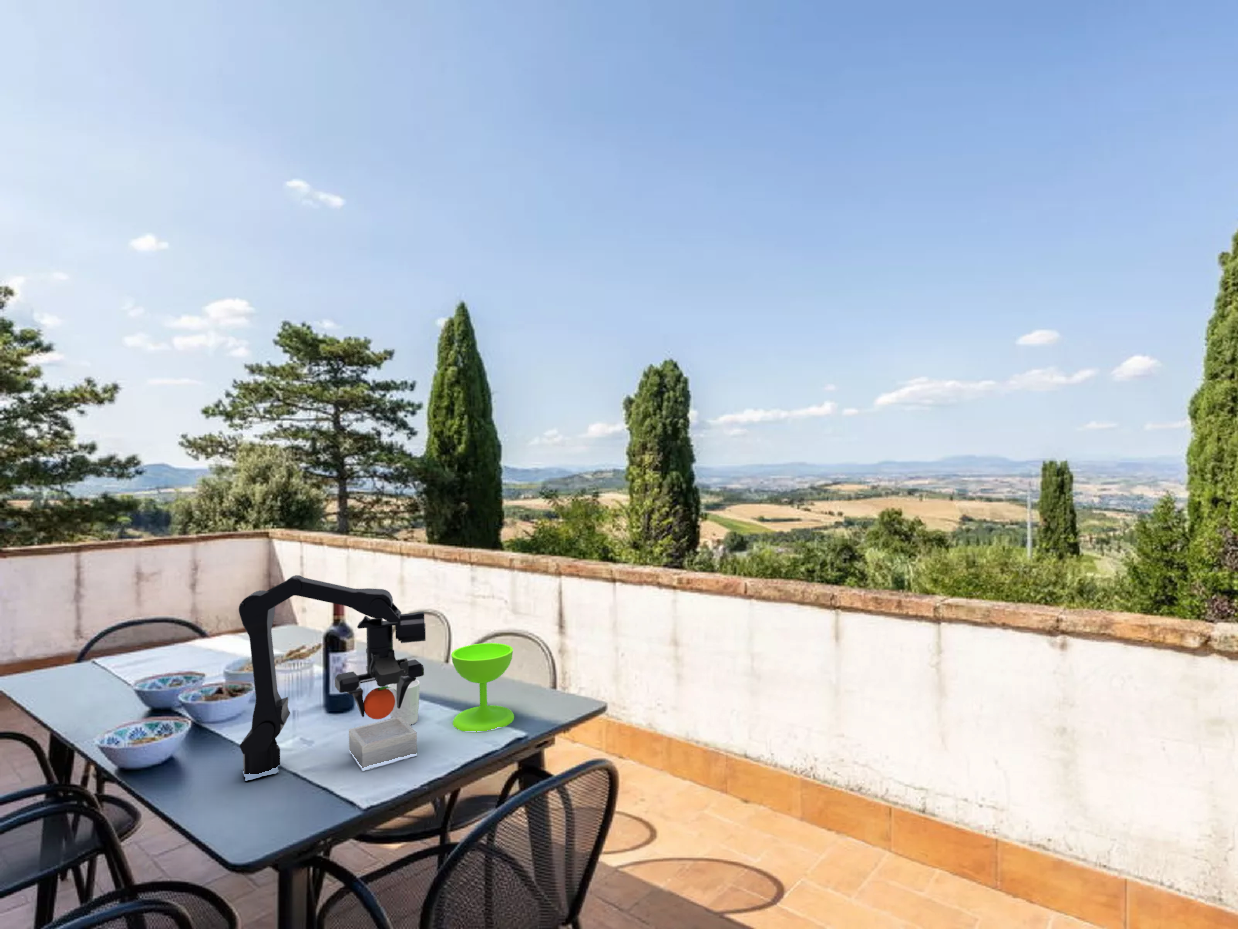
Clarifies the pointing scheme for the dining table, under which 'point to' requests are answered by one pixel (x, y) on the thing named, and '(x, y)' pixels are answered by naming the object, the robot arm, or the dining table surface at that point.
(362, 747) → the tray
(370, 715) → the clementine
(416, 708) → the white cup
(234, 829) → the dining table surface
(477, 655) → the wineglass
